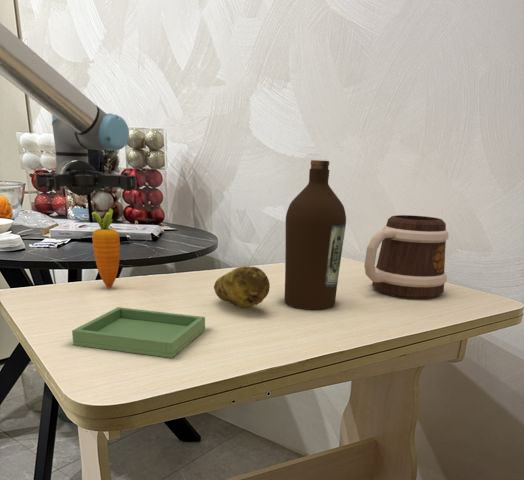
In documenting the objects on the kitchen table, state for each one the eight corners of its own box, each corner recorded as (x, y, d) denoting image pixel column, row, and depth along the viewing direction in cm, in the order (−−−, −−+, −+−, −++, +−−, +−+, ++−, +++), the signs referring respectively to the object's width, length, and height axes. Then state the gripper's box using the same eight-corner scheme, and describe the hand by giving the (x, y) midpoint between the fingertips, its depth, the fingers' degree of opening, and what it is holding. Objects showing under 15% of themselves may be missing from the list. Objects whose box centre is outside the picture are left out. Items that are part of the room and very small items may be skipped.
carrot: (95, 291, 99) (89, 210, 93) (96, 285, 103) (90, 207, 98) (122, 290, 100) (117, 210, 95) (122, 284, 104) (118, 207, 99)
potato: (255, 298, 99) (257, 256, 96) (273, 318, 87) (275, 270, 84) (212, 299, 97) (212, 256, 94) (224, 319, 85) (224, 271, 82)
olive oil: (272, 305, 94) (280, 158, 85) (292, 293, 103) (300, 159, 95) (329, 314, 90) (343, 161, 82) (344, 300, 100) (357, 162, 91)
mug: (405, 280, 119) (414, 213, 114) (459, 295, 107) (473, 221, 102) (337, 288, 109) (344, 214, 104) (389, 306, 97) (400, 224, 92)
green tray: (73, 344, 71) (71, 330, 71) (118, 319, 83) (117, 306, 82) (172, 358, 68) (171, 343, 67) (205, 329, 80) (205, 316, 79)
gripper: (133, 194, 127) (156, 202, 110) (22, 194, 117) (28, 203, 99) (132, 162, 125) (155, 165, 107) (18, 159, 114) (23, 161, 97)
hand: (94, 183), depth 103 cm, fingers open, 13 cm apart
